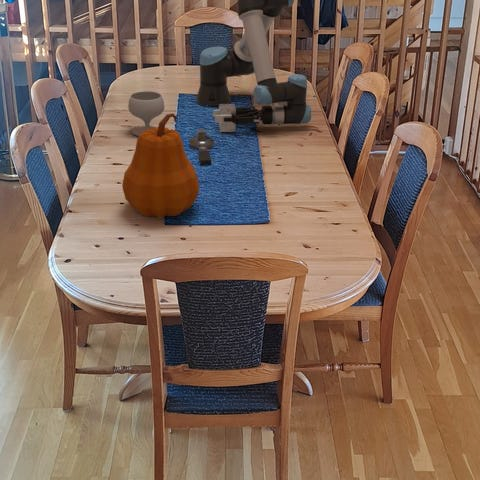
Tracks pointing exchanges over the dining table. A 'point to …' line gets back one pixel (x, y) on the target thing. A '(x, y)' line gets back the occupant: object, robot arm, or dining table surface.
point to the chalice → (145, 108)
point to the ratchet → (202, 146)
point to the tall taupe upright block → (227, 110)
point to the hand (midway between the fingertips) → (214, 116)
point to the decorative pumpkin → (160, 174)
